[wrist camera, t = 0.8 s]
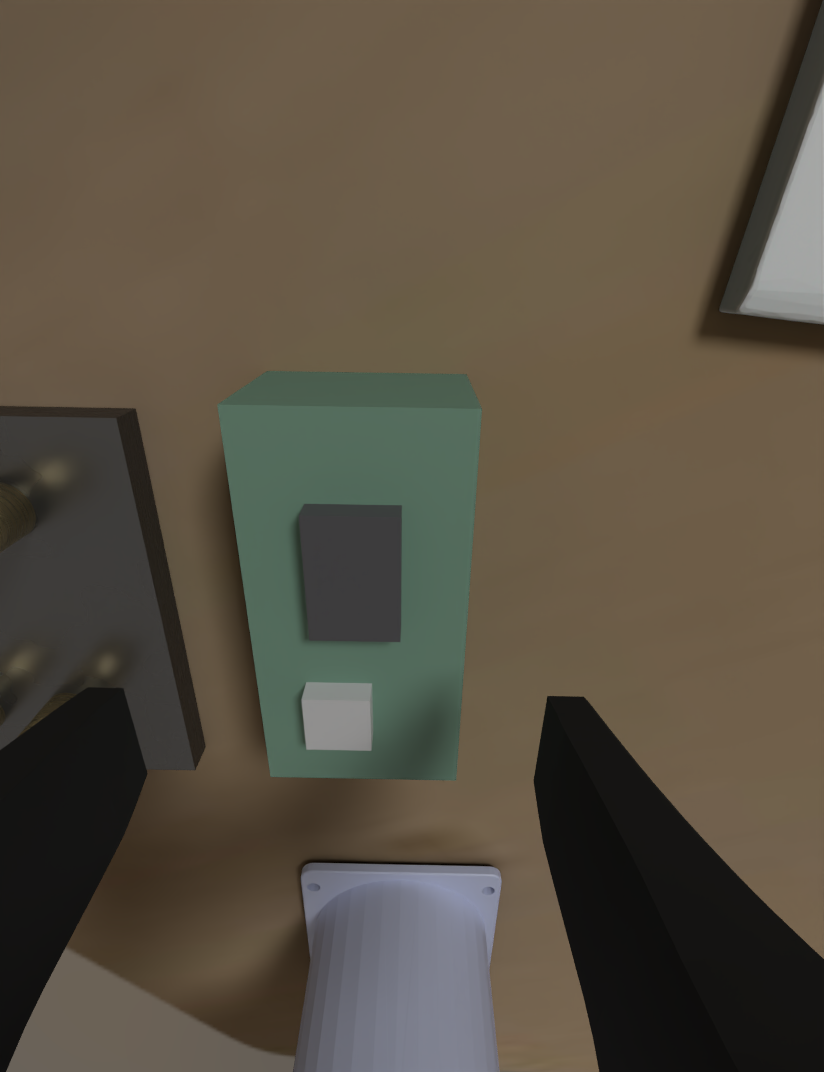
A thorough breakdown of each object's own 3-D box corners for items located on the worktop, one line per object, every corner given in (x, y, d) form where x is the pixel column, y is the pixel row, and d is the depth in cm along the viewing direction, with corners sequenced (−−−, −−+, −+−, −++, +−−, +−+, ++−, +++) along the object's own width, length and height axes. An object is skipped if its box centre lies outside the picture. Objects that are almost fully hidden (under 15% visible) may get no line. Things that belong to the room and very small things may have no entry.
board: (448, 679, 18) (457, 799, 14) (299, 677, 18) (264, 796, 14) (465, 372, 14) (485, 416, 10) (269, 369, 14) (206, 412, 10)
